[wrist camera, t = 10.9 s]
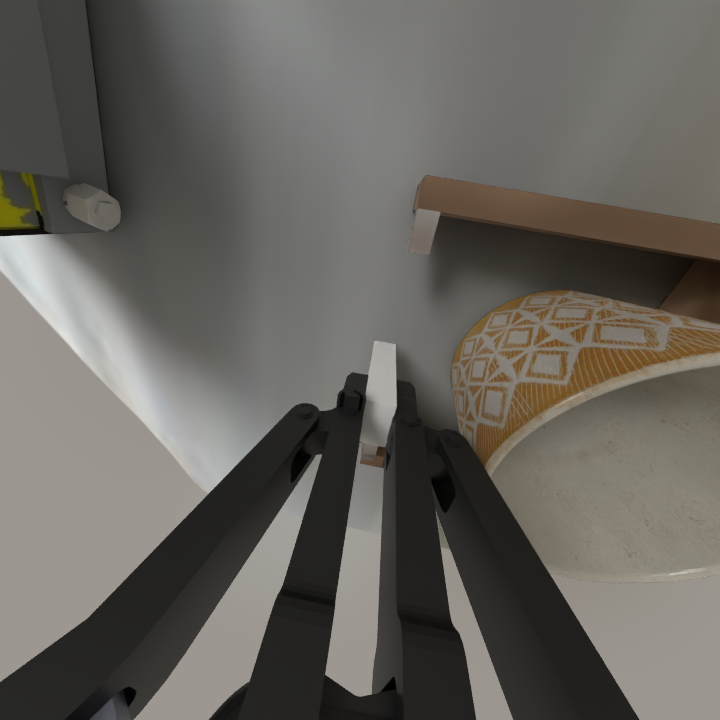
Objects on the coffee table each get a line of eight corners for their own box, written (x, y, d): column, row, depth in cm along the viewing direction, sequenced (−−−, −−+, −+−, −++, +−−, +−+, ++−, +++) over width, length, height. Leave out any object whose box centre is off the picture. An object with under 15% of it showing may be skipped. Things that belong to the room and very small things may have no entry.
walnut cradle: (418, 185, 14) (425, 175, 11) (737, 239, 13) (855, 247, 10) (365, 426, 23) (360, 463, 20) (554, 464, 23) (583, 508, 19)
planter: (462, 262, 16) (555, 323, 7) (682, 283, 15) (1137, 386, 6) (422, 417, 22) (442, 557, 13) (575, 438, 21) (712, 603, 12)
